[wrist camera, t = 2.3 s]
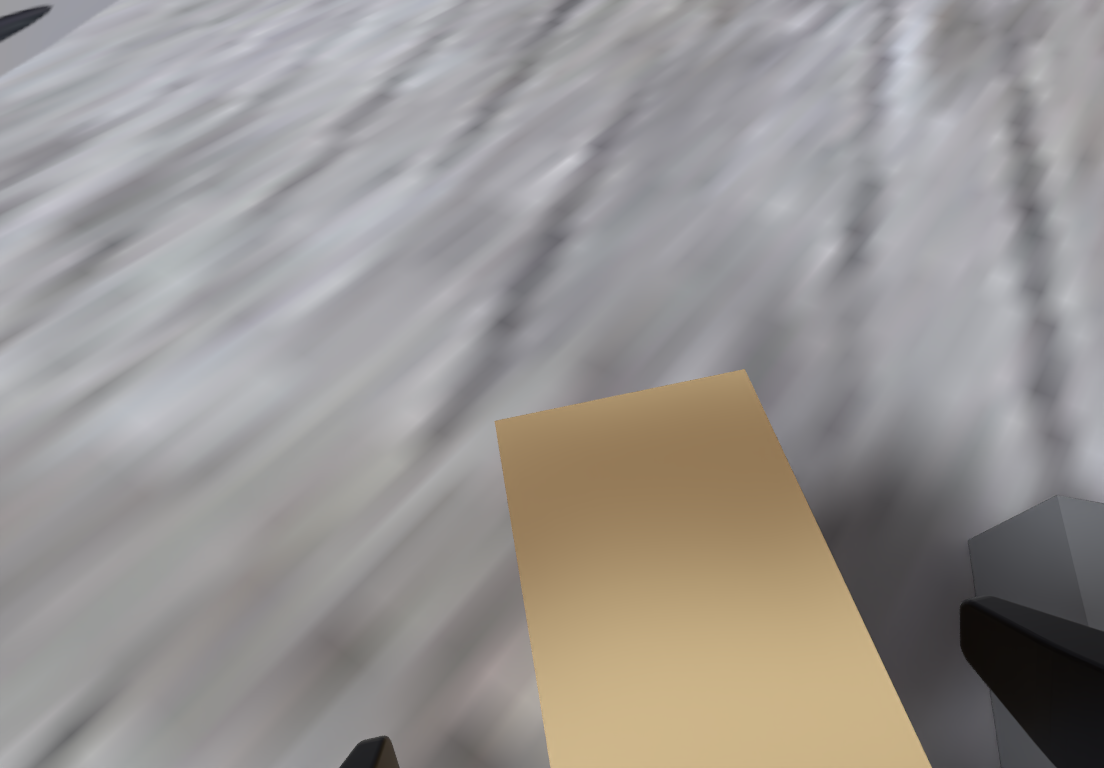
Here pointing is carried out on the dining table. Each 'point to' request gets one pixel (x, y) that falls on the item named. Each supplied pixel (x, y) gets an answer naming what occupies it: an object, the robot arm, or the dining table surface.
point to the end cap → (1042, 585)
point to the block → (688, 592)
